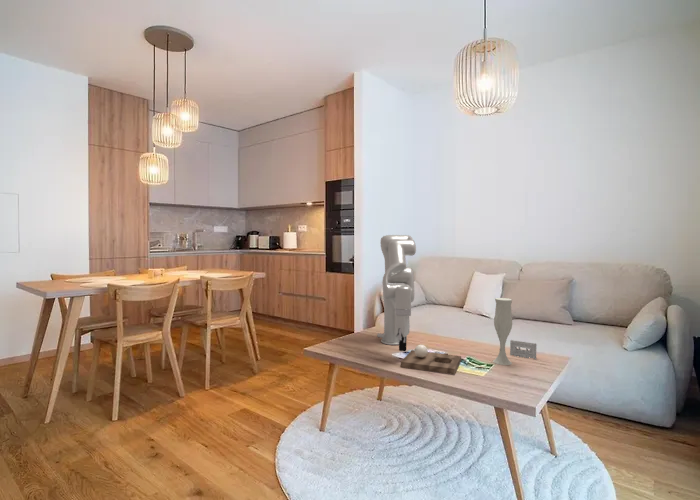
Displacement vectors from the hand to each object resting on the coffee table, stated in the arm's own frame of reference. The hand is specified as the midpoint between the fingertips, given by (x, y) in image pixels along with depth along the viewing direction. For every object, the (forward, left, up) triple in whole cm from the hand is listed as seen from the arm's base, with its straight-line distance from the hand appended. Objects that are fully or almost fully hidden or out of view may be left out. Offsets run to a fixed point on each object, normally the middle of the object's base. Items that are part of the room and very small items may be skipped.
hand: (402, 350), depth 188 cm
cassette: (+53, +30, -5) cm, 61 cm away
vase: (+44, +17, -5) cm, 47 cm away
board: (+14, 0, -5) cm, 15 cm away
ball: (+9, 0, +1) cm, 9 cm away
